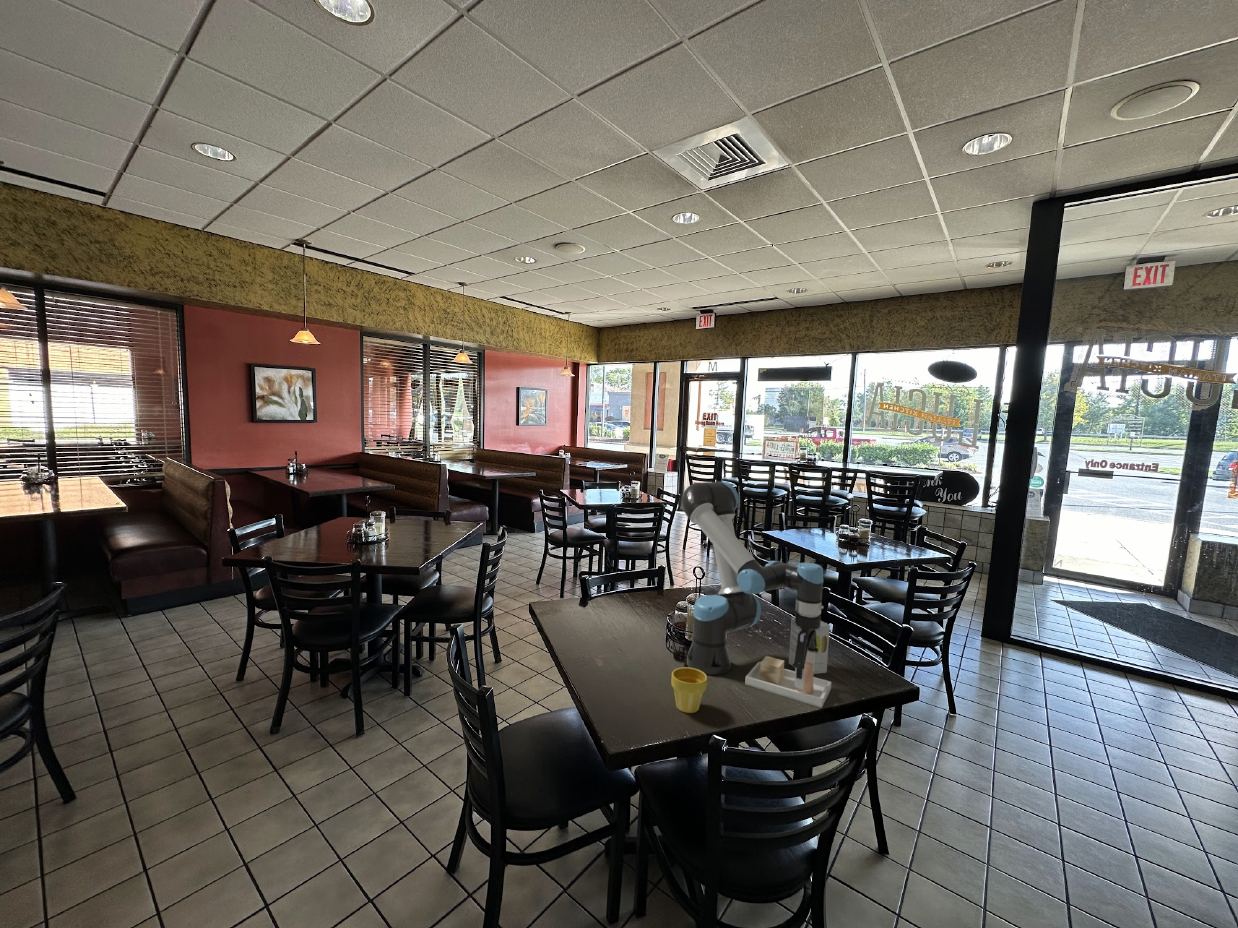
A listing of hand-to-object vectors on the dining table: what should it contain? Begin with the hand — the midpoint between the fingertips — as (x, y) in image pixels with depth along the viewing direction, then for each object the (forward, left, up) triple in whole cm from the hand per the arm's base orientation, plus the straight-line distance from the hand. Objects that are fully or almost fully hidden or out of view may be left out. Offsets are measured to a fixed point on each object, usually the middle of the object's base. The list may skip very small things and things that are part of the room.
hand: (804, 678), depth 160 cm
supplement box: (-3, +18, -4) cm, 19 cm away
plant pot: (-26, -30, -4) cm, 40 cm away
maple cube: (-11, +1, -4) cm, 11 cm away
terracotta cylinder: (0, 0, -3) cm, 3 cm away
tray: (-5, 0, -4) cm, 7 cm away
